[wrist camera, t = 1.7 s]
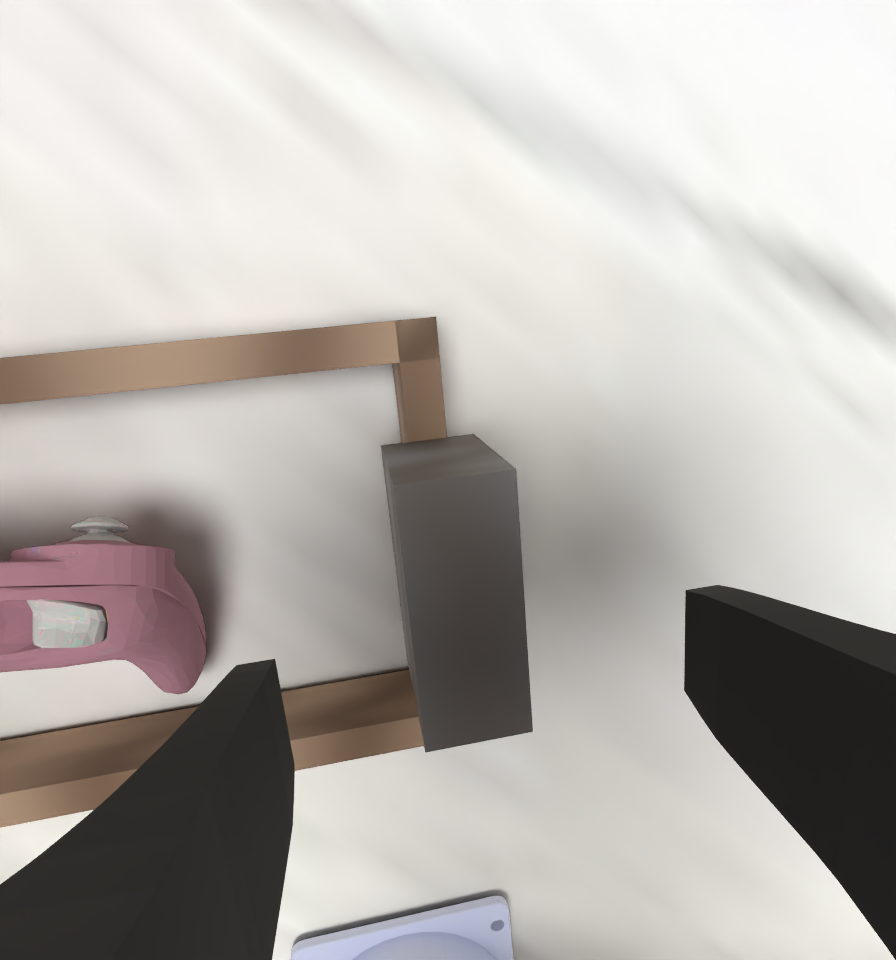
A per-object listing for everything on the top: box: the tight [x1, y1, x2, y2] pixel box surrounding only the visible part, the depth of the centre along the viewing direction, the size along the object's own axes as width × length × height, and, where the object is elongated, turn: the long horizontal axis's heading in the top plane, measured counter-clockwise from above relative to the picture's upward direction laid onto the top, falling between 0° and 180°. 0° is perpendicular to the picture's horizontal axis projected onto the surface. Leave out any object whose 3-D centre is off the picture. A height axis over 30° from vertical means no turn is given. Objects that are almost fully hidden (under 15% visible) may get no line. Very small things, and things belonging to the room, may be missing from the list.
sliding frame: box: [0, 317, 533, 827], centre depth 14 cm, size 20×12×6 cm, turn 95°
